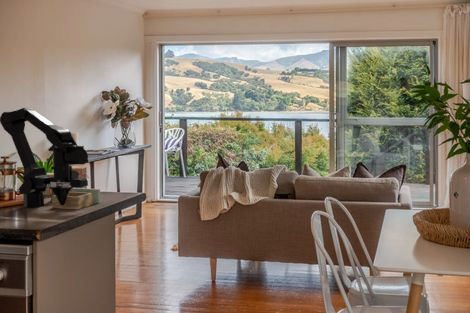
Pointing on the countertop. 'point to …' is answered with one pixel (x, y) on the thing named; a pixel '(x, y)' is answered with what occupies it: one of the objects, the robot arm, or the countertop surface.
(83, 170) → the stack of blocks
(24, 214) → the countertop surface
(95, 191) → the track and backstop
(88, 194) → the socket block
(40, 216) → the countertop surface
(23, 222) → the countertop surface
